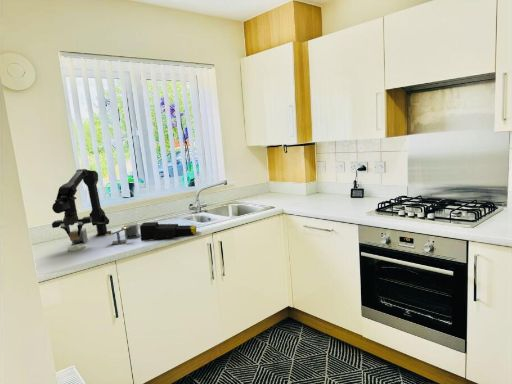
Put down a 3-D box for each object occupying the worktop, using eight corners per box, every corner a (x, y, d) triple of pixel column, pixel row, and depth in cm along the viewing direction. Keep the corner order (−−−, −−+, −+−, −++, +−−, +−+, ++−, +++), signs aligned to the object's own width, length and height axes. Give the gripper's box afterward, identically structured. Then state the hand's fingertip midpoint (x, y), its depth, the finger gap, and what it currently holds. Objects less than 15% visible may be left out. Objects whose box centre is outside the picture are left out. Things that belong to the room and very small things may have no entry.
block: (72, 238, 198) (71, 231, 197) (80, 237, 199) (78, 230, 198) (70, 240, 194) (69, 233, 194) (78, 239, 195) (77, 232, 195)
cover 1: (75, 242, 212) (72, 229, 211) (87, 240, 214) (85, 228, 212) (72, 245, 206) (70, 232, 205) (85, 243, 207) (83, 230, 206)
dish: (69, 247, 201) (69, 245, 201) (87, 245, 203) (87, 243, 203) (65, 252, 192) (65, 250, 192) (83, 249, 194) (83, 247, 194)
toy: (193, 227, 199) (137, 227, 197) (193, 242, 200) (138, 242, 199) (196, 220, 214) (145, 220, 213) (197, 234, 216) (145, 234, 214)
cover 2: (126, 235, 216) (124, 223, 215) (138, 234, 217) (137, 222, 216) (125, 238, 209) (123, 226, 208) (138, 237, 211) (136, 224, 210)
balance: (107, 243, 202) (105, 229, 201) (131, 240, 205) (129, 225, 204) (106, 246, 198) (103, 231, 196) (131, 242, 201) (129, 227, 199)
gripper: (46, 214, 184) (51, 244, 187) (85, 209, 188) (90, 238, 191) (52, 210, 195) (57, 238, 197) (90, 205, 199) (94, 233, 202)
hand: (75, 237), depth 197 cm, fingers closed on block, 4 cm apart
